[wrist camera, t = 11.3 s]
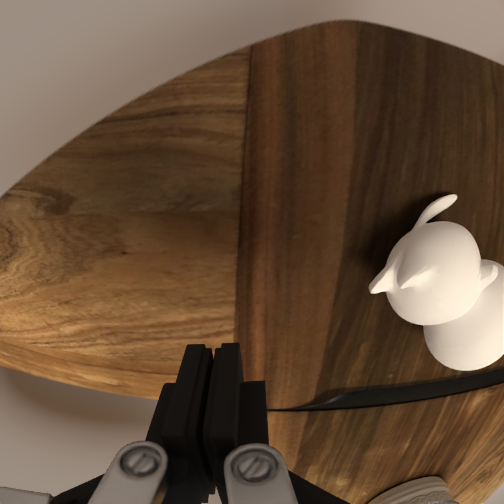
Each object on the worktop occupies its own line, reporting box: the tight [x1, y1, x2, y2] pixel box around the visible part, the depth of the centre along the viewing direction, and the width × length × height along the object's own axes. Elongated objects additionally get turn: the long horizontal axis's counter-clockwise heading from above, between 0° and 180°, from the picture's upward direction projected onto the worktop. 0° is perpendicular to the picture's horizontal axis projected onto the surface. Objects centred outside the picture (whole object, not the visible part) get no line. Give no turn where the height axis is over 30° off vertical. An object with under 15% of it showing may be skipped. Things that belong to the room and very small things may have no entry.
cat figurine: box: [369, 195, 504, 371], centre depth 18 cm, size 9×11×12 cm
